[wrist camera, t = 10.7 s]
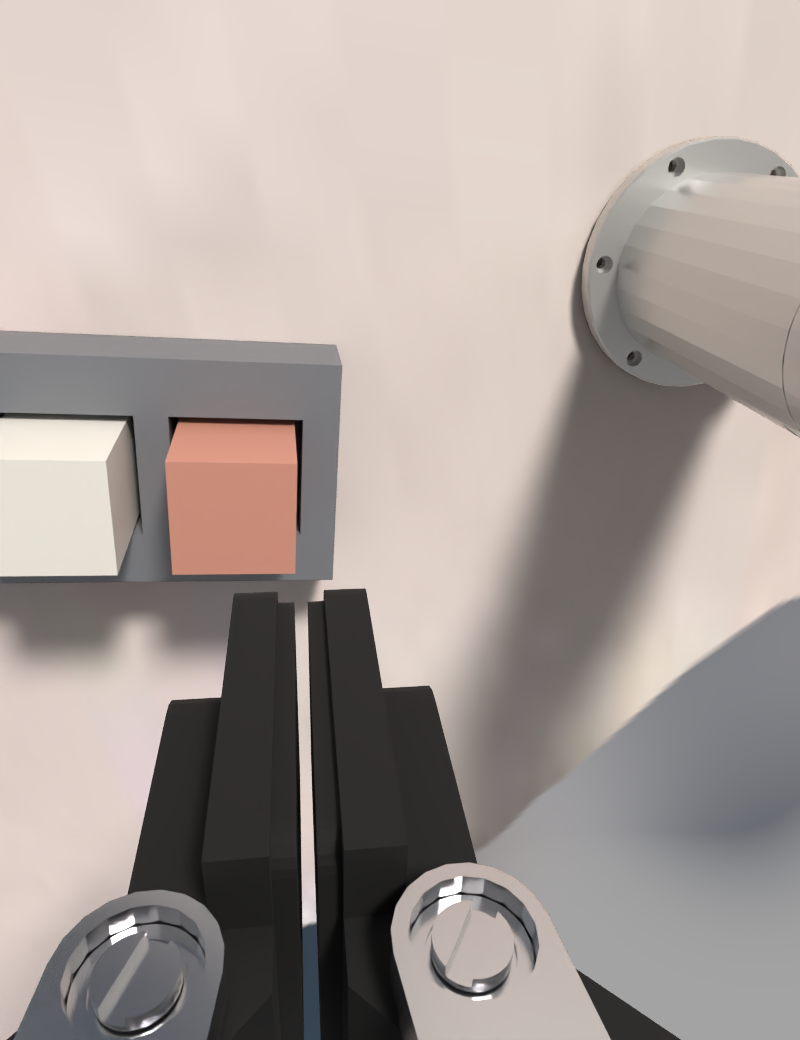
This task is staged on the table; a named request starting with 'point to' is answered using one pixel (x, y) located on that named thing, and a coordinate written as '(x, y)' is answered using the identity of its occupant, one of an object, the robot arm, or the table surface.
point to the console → (187, 393)
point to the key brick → (232, 496)
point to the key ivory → (66, 493)
